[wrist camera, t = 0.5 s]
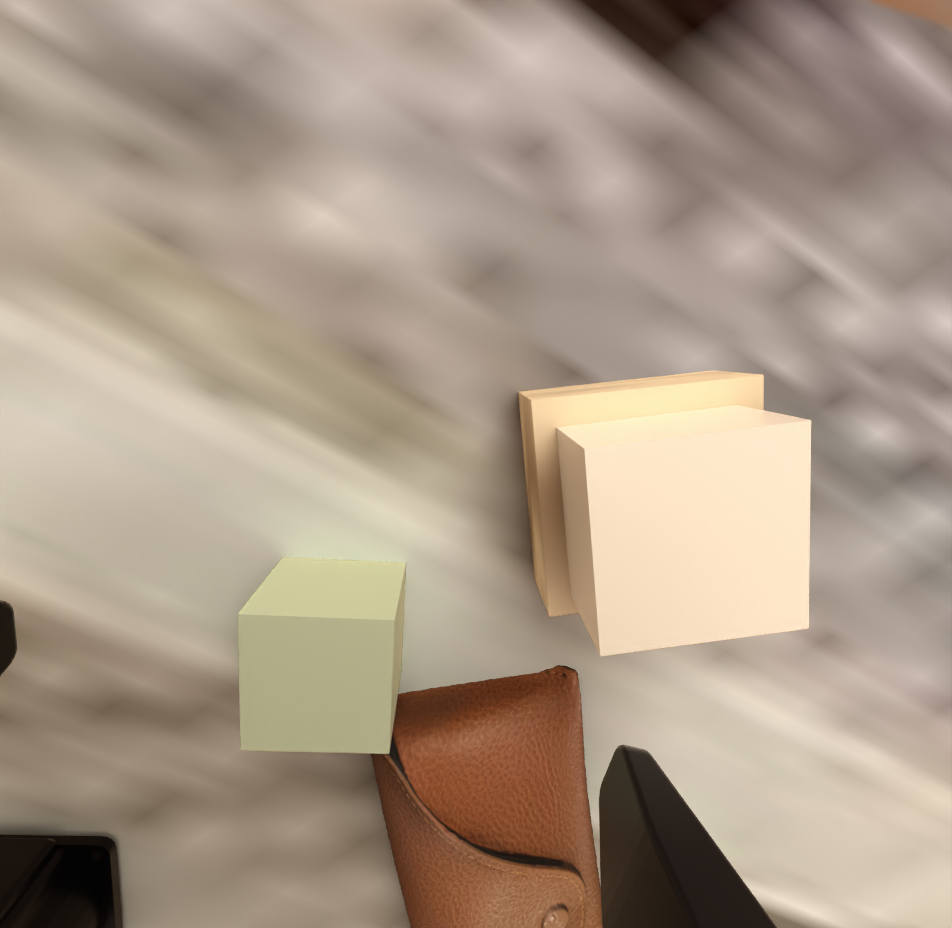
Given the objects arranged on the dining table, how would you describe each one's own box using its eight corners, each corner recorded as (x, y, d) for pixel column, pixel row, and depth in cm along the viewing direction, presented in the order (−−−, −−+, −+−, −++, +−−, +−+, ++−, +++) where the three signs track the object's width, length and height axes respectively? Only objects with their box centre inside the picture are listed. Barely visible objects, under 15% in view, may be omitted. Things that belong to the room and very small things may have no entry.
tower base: (712, 552, 21) (762, 591, 18) (533, 573, 21) (549, 616, 18) (709, 370, 20) (763, 374, 17) (517, 390, 20) (531, 400, 16)
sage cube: (401, 670, 22) (389, 753, 17) (283, 666, 21) (240, 750, 17) (406, 561, 21) (394, 620, 16) (283, 556, 20) (237, 614, 16)
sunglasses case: (635, 1002, 25) (595, 1207, 20) (498, 945, 29) (431, 1106, 23) (578, 652, 22) (508, 781, 16) (428, 635, 25) (327, 737, 19)
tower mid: (739, 574, 18) (808, 628, 14) (570, 596, 18) (600, 656, 14) (736, 404, 17) (810, 420, 13) (556, 427, 17) (584, 448, 13)
